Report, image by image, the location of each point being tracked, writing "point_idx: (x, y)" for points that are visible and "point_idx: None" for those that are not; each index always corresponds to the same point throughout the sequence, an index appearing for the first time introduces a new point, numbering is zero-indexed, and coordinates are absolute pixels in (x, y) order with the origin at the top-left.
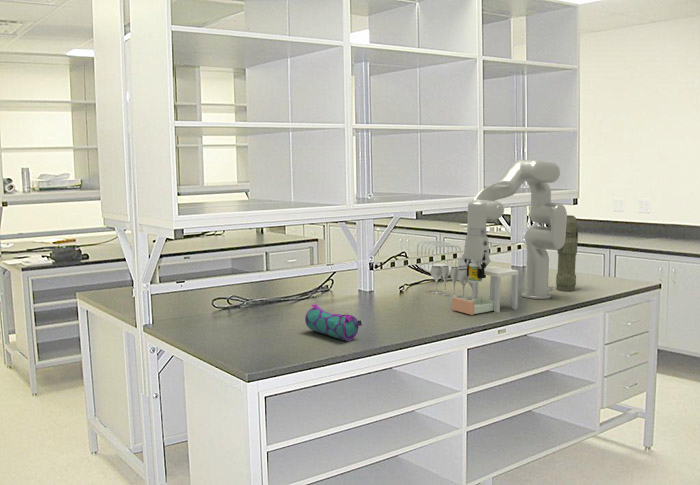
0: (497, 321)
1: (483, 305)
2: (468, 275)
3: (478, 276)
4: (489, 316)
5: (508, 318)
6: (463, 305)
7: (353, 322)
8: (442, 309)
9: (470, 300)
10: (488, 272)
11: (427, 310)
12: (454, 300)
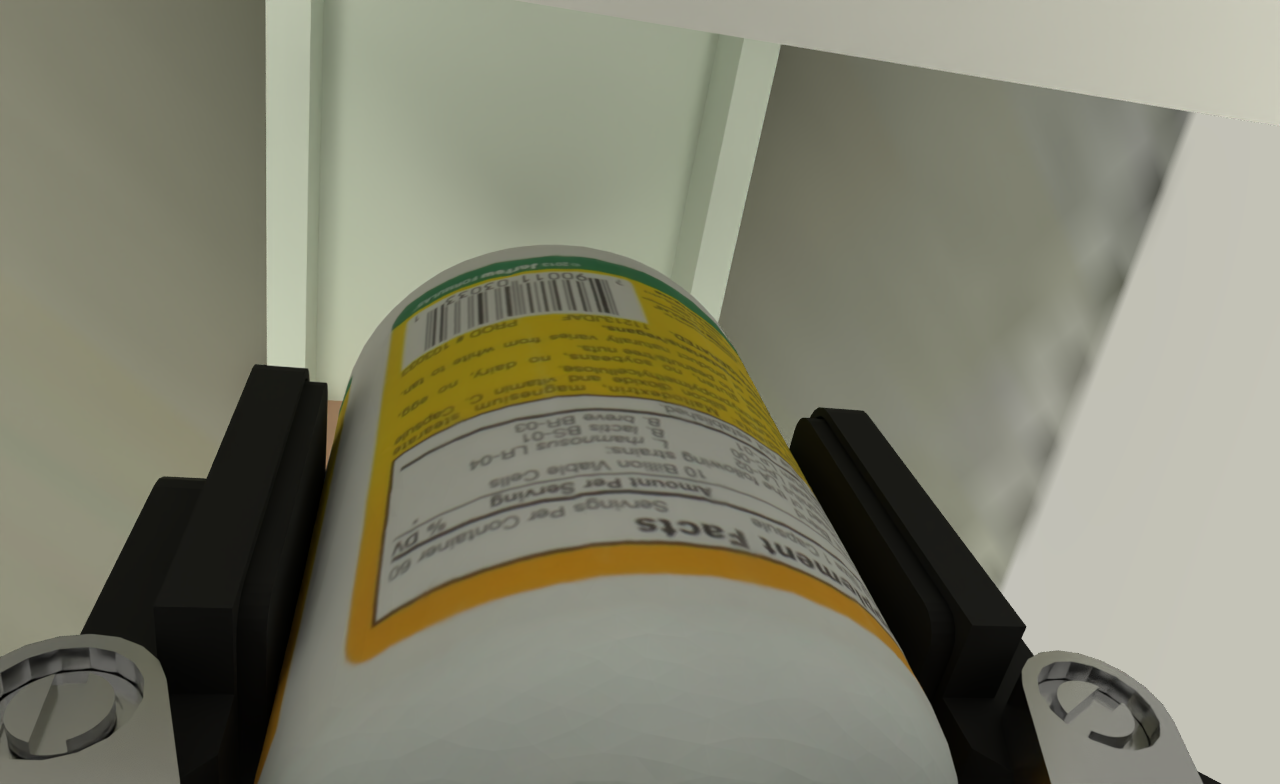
0: (1053, 407)
1: (731, 242)
2: None
3: None
4: (859, 276)
5: (1115, 177)
6: None
7: None
8: (94, 441)
9: (308, 105)
10: (874, 53)
11: (31, 625)
12: None
